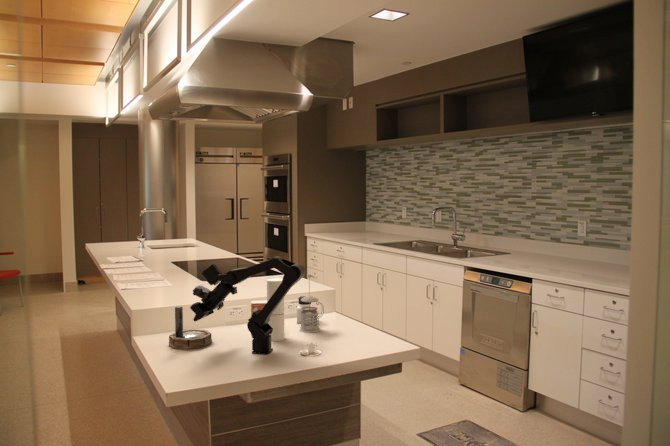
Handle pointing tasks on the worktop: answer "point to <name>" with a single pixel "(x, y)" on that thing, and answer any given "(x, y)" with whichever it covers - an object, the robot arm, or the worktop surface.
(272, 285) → the cylindrical container
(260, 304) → the small box
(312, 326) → the french press
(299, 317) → the medicine bottle
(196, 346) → the dial housing
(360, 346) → the worktop surface
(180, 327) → the dial
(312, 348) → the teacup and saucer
